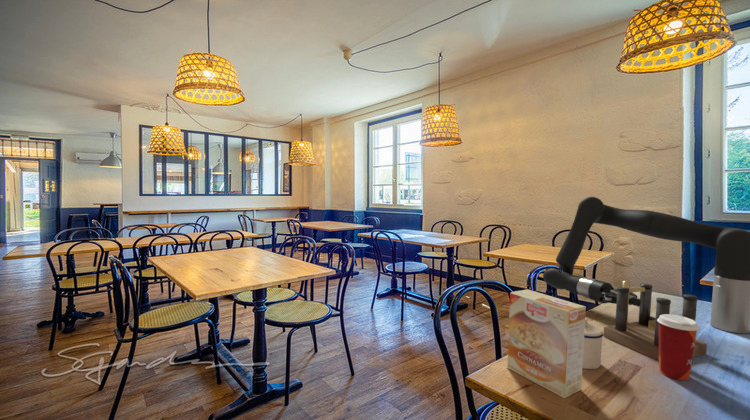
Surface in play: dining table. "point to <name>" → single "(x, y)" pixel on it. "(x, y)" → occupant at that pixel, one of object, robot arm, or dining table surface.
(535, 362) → the coffeecake box
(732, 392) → the dining table surface
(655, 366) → the dining table surface
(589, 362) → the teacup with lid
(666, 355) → the paper cup
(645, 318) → the grey post frame
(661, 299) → the base with upright pegs
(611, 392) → the dining table surface
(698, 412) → the dining table surface
